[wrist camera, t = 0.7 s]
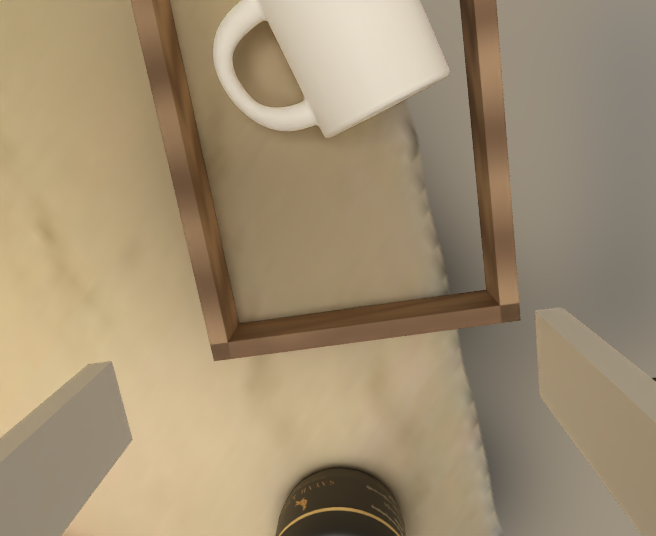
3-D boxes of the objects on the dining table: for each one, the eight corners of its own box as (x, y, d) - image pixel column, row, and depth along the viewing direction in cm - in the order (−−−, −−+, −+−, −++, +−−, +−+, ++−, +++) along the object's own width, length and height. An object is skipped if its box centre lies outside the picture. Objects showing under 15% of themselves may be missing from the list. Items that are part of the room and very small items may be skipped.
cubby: (148, -10, 32) (124, -27, 29) (473, -74, 31) (488, -100, 27) (226, 341, 38) (214, 361, 35) (504, 303, 36) (520, 320, 33)
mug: (371, -73, 31) (378, -143, 23) (438, 82, 33) (465, 65, 25) (203, 25, 33) (157, -9, 25) (276, 167, 35) (254, 175, 27)
